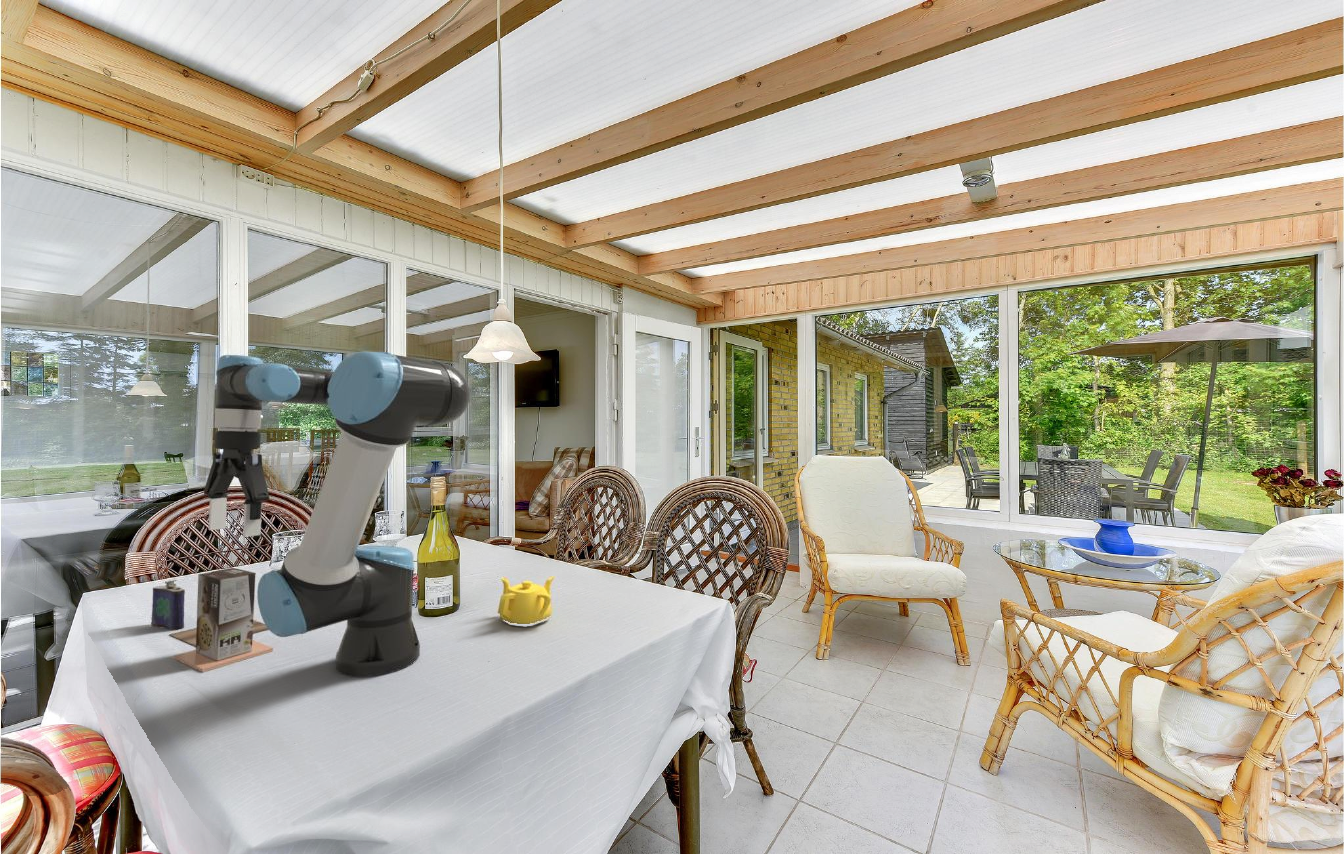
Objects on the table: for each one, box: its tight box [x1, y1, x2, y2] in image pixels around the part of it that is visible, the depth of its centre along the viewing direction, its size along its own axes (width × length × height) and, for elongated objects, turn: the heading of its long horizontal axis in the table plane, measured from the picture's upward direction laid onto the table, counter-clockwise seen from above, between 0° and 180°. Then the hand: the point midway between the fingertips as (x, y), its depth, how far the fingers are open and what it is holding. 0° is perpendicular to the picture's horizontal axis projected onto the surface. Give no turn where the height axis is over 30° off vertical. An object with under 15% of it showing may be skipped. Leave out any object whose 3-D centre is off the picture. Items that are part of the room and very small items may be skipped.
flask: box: [150, 579, 186, 631], centre depth 125 cm, size 9×3×11 cm, turn 71°
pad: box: [173, 639, 274, 673], centre depth 110 cm, size 12×12×1 cm
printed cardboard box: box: [195, 567, 257, 661], centre depth 110 cm, size 9×6×16 cm
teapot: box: [497, 575, 556, 624], centre depth 135 cm, size 14×13×10 cm
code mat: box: [169, 619, 270, 647], centre depth 122 cm, size 14×14×1 cm
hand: (234, 532), depth 111 cm, fingers open, 13 cm apart
